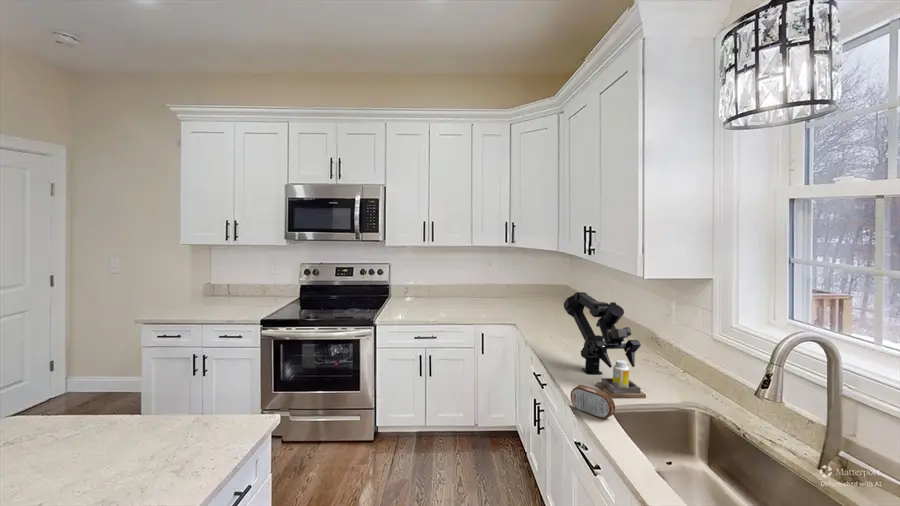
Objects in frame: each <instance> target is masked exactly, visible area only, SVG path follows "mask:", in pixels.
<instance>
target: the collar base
mask: <svg viewBox="0 0 900 506" xmlns="http://www.w3.org/2000/svg"><path fill="white" fill-rule="evenodd" d="M595 386H597V387H598V388H599V389H600V391H602V392H605V393H607V394H608V395H609V396H610V397H611V398H612V399H647V394H646V393H644V392H643V391H642V390H641V389H642V388H641V387H640V386H639V385H637V384H636V383H634V382H633V381H632V380H631V379H629V385H628V387H614V386H613V377H610V378H609V377H607V378H606V377H605V378H601V381H597V382H596V385H595Z"/></svg>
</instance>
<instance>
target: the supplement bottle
mask: <svg viewBox="0 0 900 506" xmlns="http://www.w3.org/2000/svg"><path fill="white" fill-rule="evenodd" d="M612 366H613V369H612V378H613V386H614V387H628V385H629V380H630V379H629V377H630V367H629V366H628V361H627V360H624V359H616V360H615V364H614V365H612Z"/></svg>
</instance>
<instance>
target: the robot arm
mask: <svg viewBox="0 0 900 506" xmlns="http://www.w3.org/2000/svg"><path fill="white" fill-rule="evenodd" d="M585 307H586V309H588V310H589V314H590V315H591V316H592V317H593V318H599V319H597V322H596V325H595V326H596V327H599V330H600V332H601V335H600V334H599V335H596V334H595V332H594V330H593V329H592V326H591V325H590V321H588V318H587V317H586V315H585V313H584V310H585ZM563 309H564V310H565V312H566V313H567V315H569V316H571V317H572V318H573V320H574V321H575V324H576V325H577V328H578V329H579V331H580V334H581V335H582V338H583V340H584V342H583V343H584V344H583V348H582V349H581V350H580V357H581V358H583V359H585V365H584V367H583V368H582V367H581V368H582V371H583V372H585V373H586V374H587V375H603V372H602V371H601V370H600V364H601V363H600V362H601V361H602V362H603V363H604V364H605V365H606V366H607V367H609V369H612V366H613V365H612V362H611V359H610V357H609V354H608V350H614V349H615V350H619V349H620V350H621V349H622V350H624V352H625V356H626V358H627V360H628V362H629V363H630V365H631V367H632V368H635V366H636V364H635V359H636V357H635V355H636V352H637V351H638V350H639V348H641V346H642V344H641V342H640V341H639V340H638V339H628V341H627V342H624V341H625V338H629V337H630V336H632V331H631V328H630V326H629V327H627V326H625V327H623V328H616V324H618V323H619V321H620V319H621V318H623V316H624V314H625V311H624V308H622V307H621V306H620V305H619V304H617V303H616V301H615V302H613V301H612V302H610V303H608V302H604V301H599V300H596V299H595V298H593V297H592V296H590V295H588V293H587V292H584V291H583V292H582V291H581V292H579V291H578V292H574V294H573V295H571V296H569V297H567V298H566V299H565V300H564V301H563ZM622 342H624V343H622Z"/></svg>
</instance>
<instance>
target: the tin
mask: <svg viewBox="0 0 900 506" xmlns="http://www.w3.org/2000/svg"><path fill="white" fill-rule="evenodd" d="M570 401H571V403H572V405H573V407H574V408H575V409H576V410H578V411H580V412H582V413H584V414H588V415H590V416H593V417H595V418H597V417H598V419H602V420H604V419H608V418H609V417H612V416H613V415H614V414H615V412H616V405H615V401H614V398H611V397H610V396H609V395H608V394H607V393H605V392H603V391H602V390H599V389H597V388H592V387H590V386H587V385H584V384H579V385H577V386H576V387H574V388H573V389H572V390H571V391H570Z"/></svg>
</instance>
